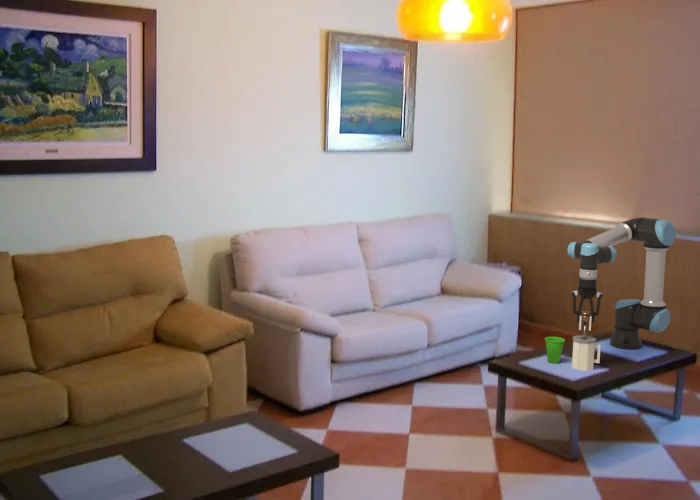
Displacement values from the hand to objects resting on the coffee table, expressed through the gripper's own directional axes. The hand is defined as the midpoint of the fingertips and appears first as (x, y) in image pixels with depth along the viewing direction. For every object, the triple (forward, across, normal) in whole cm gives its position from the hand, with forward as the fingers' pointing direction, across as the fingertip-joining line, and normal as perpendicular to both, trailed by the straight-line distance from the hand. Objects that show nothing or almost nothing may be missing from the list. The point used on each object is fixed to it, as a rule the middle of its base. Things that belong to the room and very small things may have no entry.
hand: (584, 329), depth 365 cm
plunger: (+14, 0, 0) cm, 14 cm away
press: (+17, +1, 0) cm, 18 cm away
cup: (+18, -13, +4) cm, 22 cm away
